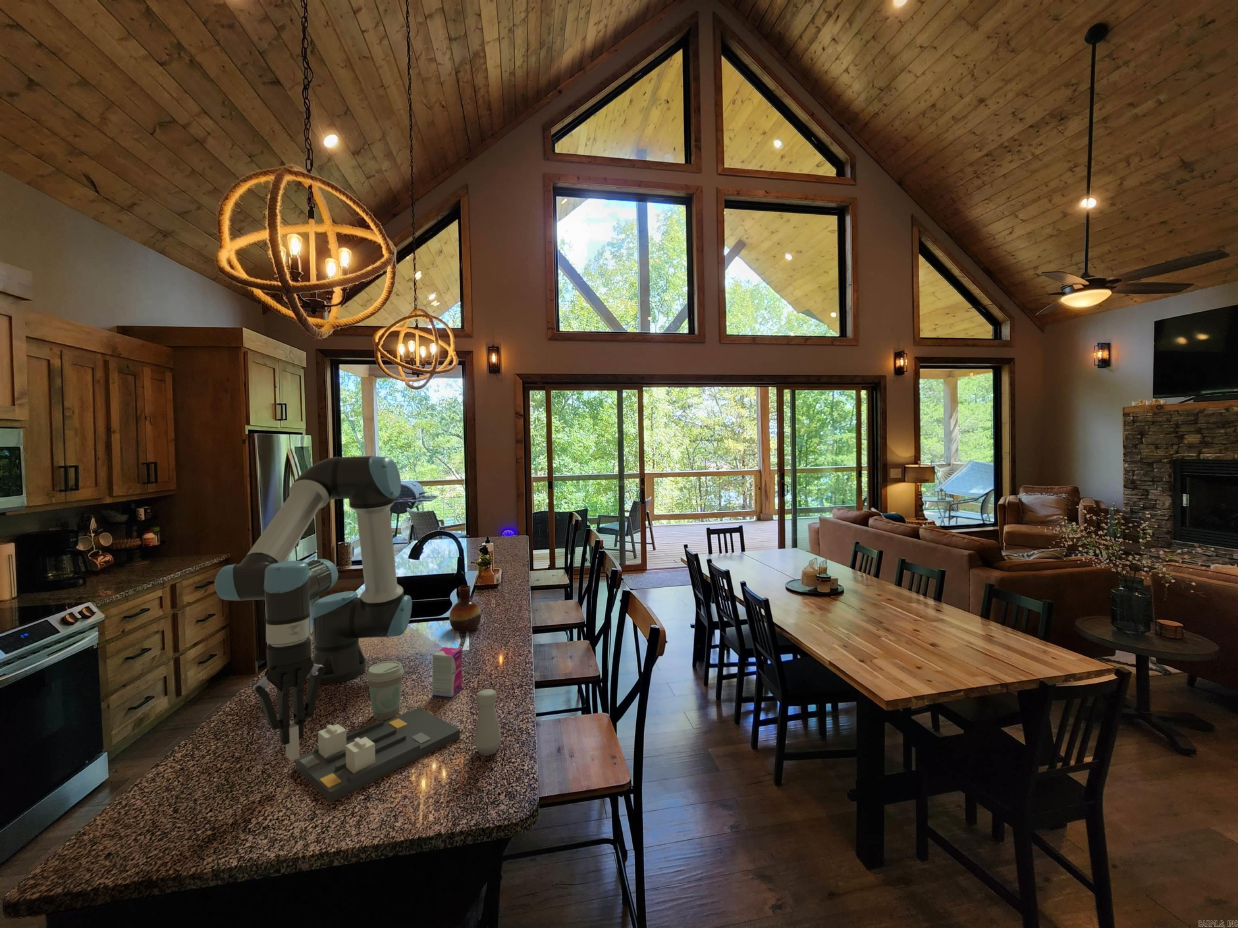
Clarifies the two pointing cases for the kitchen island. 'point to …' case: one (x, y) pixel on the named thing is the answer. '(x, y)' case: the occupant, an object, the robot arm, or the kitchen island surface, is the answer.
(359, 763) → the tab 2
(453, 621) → the vase
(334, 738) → the white slider knob
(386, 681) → the coffee cup
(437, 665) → the supplement box
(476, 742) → the salt shaker
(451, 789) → the kitchen island surface
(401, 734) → the switch bank
